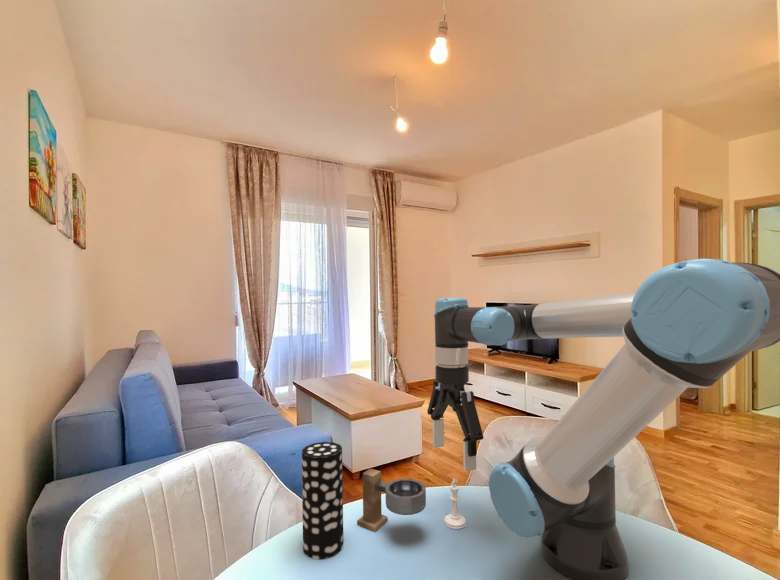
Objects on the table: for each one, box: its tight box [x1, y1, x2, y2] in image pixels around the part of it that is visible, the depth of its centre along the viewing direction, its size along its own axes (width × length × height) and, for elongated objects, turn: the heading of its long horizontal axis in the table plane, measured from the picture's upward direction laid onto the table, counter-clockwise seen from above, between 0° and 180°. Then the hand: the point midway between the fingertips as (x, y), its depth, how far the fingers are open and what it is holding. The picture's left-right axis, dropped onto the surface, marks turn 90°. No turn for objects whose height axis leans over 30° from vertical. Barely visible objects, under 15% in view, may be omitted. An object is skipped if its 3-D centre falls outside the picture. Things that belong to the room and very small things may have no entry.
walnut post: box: [356, 468, 388, 533], centre depth 89 cm, size 5×5×12 cm
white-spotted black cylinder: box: [301, 441, 344, 560], centre depth 81 cm, size 8×8×20 cm
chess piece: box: [443, 477, 467, 530], centre depth 88 cm, size 5×5×10 cm
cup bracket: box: [375, 478, 427, 516], centre depth 85 cm, size 14×9×3 cm, turn 57°
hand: (453, 457), depth 89 cm, fingers open, 13 cm apart
